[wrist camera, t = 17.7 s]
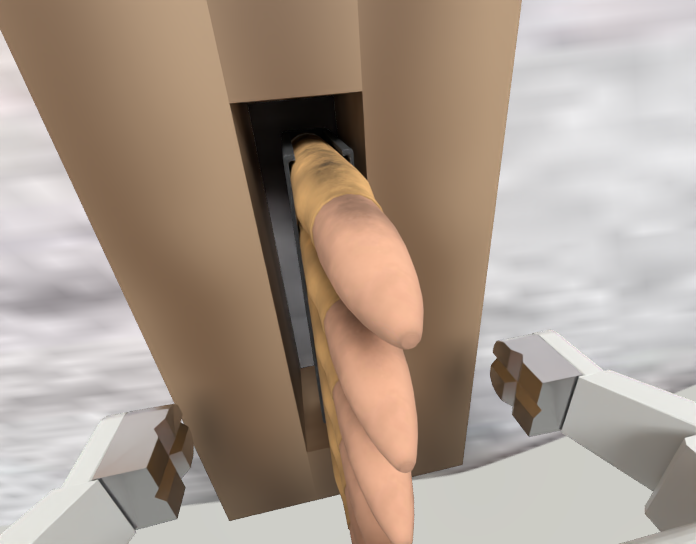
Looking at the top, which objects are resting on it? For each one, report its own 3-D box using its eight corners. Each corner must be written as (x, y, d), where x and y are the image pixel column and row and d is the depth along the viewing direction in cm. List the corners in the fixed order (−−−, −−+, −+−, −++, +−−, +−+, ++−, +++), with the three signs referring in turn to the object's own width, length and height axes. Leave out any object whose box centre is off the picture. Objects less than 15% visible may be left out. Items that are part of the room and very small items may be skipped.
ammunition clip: (346, 341, 18) (441, 675, 7) (312, 347, 18) (361, 701, 7) (328, 127, 13) (530, 224, 2) (280, 131, 13) (285, 257, 2)
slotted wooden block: (437, -30, 11) (535, -113, 7) (423, 388, 21) (462, 464, 16) (87, -13, 10) (-62, -105, 6) (241, 426, 19) (229, 521, 15)
